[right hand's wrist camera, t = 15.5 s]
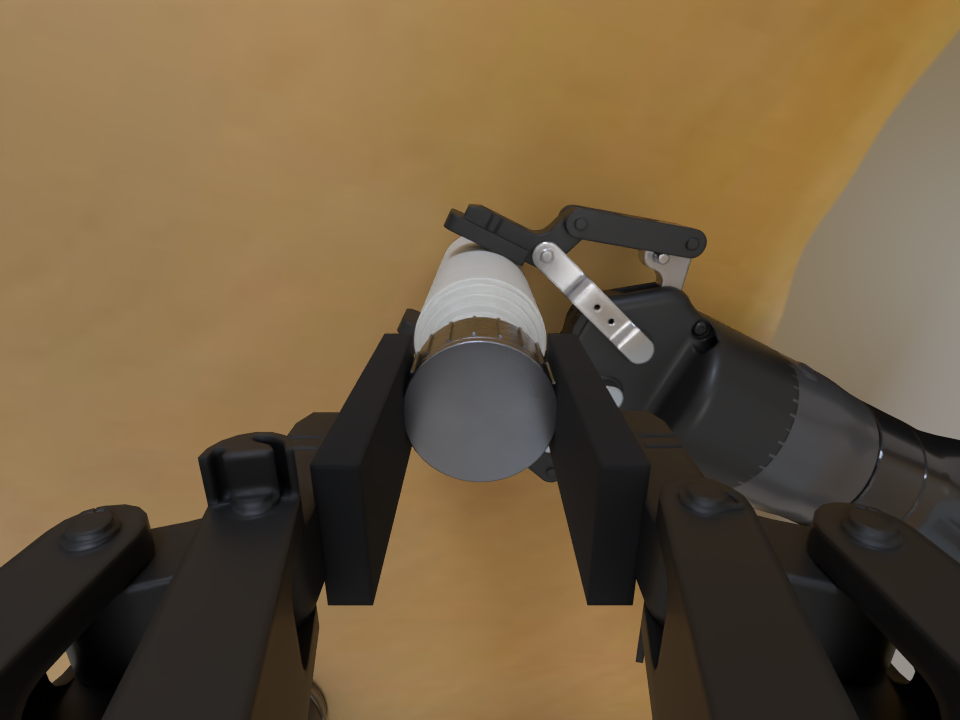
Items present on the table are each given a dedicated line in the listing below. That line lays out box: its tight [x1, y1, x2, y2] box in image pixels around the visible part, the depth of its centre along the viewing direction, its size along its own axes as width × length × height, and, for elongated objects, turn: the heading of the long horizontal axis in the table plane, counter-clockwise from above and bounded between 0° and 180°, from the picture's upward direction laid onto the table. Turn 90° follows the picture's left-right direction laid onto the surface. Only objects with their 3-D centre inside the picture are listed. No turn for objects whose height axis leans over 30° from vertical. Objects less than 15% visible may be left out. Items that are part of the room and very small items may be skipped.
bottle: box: [414, 236, 546, 356], centre depth 21 cm, size 4×4×18 cm
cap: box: [404, 316, 557, 482], centre depth 13 cm, size 4×4×2 cm
